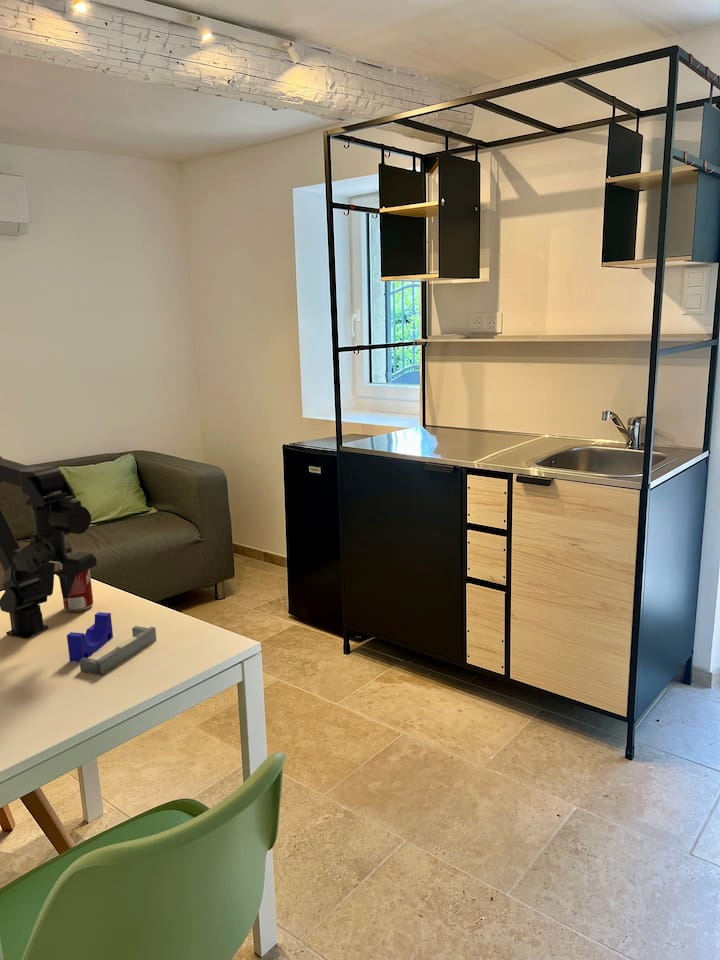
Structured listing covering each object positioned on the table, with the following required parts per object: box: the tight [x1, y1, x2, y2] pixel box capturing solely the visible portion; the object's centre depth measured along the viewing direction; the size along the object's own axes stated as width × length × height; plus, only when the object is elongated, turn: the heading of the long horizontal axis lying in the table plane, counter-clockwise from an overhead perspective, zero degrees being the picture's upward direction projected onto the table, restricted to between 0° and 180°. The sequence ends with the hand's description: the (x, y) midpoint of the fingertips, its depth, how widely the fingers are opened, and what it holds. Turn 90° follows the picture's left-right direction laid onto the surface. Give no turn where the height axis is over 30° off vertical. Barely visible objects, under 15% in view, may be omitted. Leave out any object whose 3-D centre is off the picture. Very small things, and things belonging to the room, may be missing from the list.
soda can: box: [62, 568, 94, 613], centre depth 178 cm, size 7×7×12 cm
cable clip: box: [66, 611, 114, 663], centre depth 157 cm, size 12×4×6 cm, turn 168°
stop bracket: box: [79, 625, 157, 677], centre depth 154 cm, size 5×17×3 cm, turn 158°
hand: (57, 596), depth 157 cm, fingers open, 4 cm apart
